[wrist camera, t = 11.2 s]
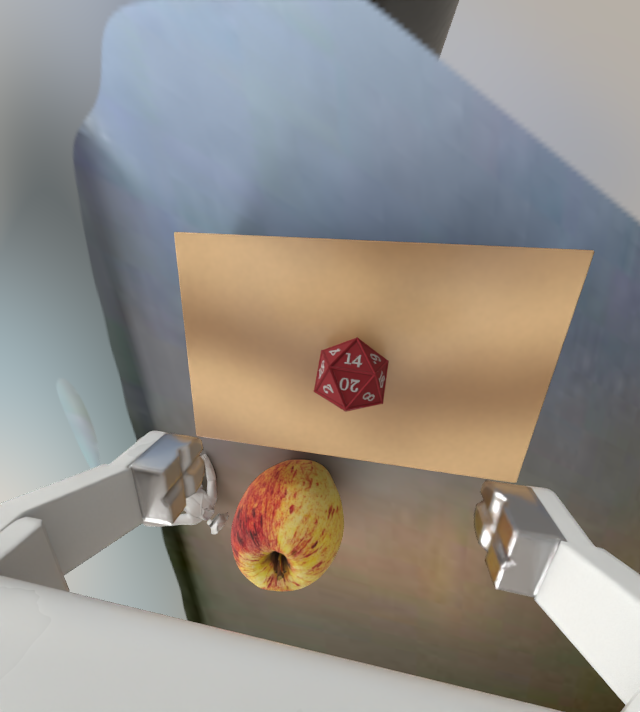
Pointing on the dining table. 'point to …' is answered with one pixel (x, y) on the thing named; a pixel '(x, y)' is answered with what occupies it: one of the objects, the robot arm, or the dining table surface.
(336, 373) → the dice
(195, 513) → the soldier figure
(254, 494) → the apple
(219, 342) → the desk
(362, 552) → the dining table surface
